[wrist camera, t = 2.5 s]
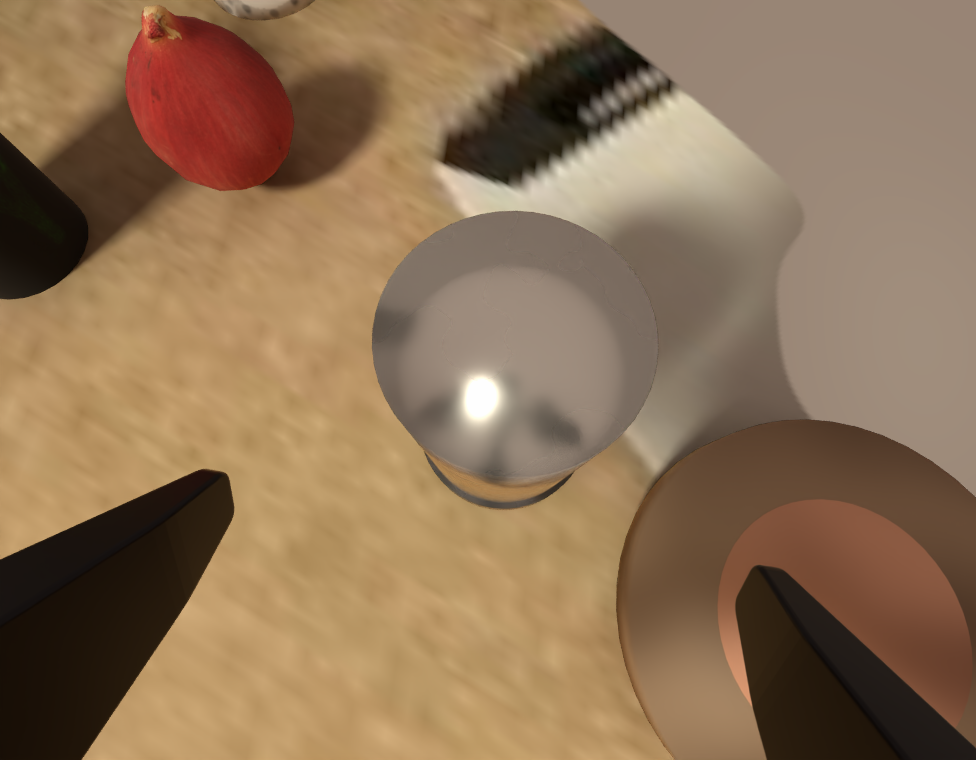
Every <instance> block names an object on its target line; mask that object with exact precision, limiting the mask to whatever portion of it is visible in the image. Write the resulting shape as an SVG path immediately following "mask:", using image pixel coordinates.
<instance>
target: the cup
mask: <svg viewBox="0 0 976 760" xmlns="http://www.w3.org/2000/svg"><path fill="white" fill-rule="evenodd" d="M87 239H88V225H87V222H86V219H85V216H84V214H83V213H82V211H81V210H80V209H79V207H78V206H77V205H76V204H75V203H74V202H73V201H72V200H71V199H70V198H69V197H68V196H66V195H65V194H64V193H63V192H62V191H61V190H60V189H59V188H58V187H57V186H56V185H55V184H54V183H53V182H52V181H51V180H50V179H49V178H48V177H46V176H45V175H44V174H43V173H42V172H41V171H40V170H39V169H38V168H37V167H36V166H35V165H34V164H33V163H32V162H31V161H30V160H29V159H27V158H26V157H25V156H24V155H23V154H22V153H21V152H20V151H19V150H18V149H17V148H16V147H15V146H14V145H13V144H12V143H11V142H10V141H9V140H7V139H6V138H5V137H4V136H3V135H2V134H1V133H0V299H18V298H25V297H28V296H31V295H35V294H38V293H41V292H42V291H44V290H46V289H48V288H50V287H52V286H54V285H55V284H56V283H58V282H59V281H60V280H62V279H63V278H64V277H65V276H67V275H68V274H69V272H70V271H71V270H72V269H73V268H74V267H75V265H76V264H77V263H78V261H79V259H80V258H81V256H82V254H83V252H84V250H85V246H86V243H87Z"/></svg>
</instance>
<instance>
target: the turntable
mask: <svg viewBox="0 0 976 760" xmlns="http://www.w3.org/2000/svg"><path fill="white" fill-rule="evenodd" d="M755 565H765V566H771V567H776V568H780V569H783V570H784V571H786V572H787V573H788V574H789V575H790V576H791V577H792V578H793V579H795V580H796V581H797V582H798V583H799V584H800V585H801V586H802V587H803V588H804V589H805V590H806V591H807V592H809V593H810V594H811V595H812V596H813V597H814V598H815V599H816V600H817V601H818V602H819V603H820V604H822V605H823V606H824V607H825V608H826V609H827V610H828V611H829V612H830V613H831V614H832V615H833V616H834V617H836V618H837V619H838V620H839V621H840V622H841V623H842V624H843V625H844V626H845V627H846V628H847V629H849V630H850V631H851V632H852V633H853V634H854V635H855V636H856V637H857V638H858V639H859V640H860V641H861V642H863V643H864V644H865V645H866V646H867V647H868V648H869V649H870V650H871V651H872V652H873V653H874V654H876V655H877V656H878V657H879V658H880V659H881V660H882V661H883V662H884V663H885V664H886V665H887V666H888V667H890V668H891V669H892V670H893V671H894V672H895V673H896V674H897V675H898V676H899V677H900V678H901V679H903V680H904V681H905V682H906V683H907V684H908V685H909V686H910V687H911V688H912V689H913V690H914V691H915V692H917V693H918V694H919V695H920V696H921V697H922V698H923V699H924V700H925V701H926V702H927V703H928V704H930V705H931V706H932V707H933V708H934V709H935V710H936V711H937V712H938V713H939V714H940V715H941V716H942V717H944V718H945V719H946V720H947V721H948V722H949V723H950V724H951V725H952V726H953V727H954V728H955V729H957V730H958V731H959V732H960V733H961V734H962V735H963V736H964V737H965V738H966V739H967V740H968V741H969V742H971V743H972V744H973V745H974V746H975V747H976V497H975V496H974V495H973V494H971V493H970V492H969V491H968V490H967V489H966V488H965V487H964V486H963V485H961V484H960V483H959V482H958V481H957V480H956V479H955V478H953V477H952V476H951V475H949V474H948V473H947V472H945V471H944V470H943V469H941V468H940V467H939V466H937V465H936V464H934V463H933V462H932V461H930V460H929V459H927V458H925V457H924V456H922V455H920V454H918V453H917V452H915V451H914V450H912V449H910V448H909V447H907V446H904V445H902V444H900V443H898V442H896V441H894V440H891V439H889V438H887V437H885V436H883V435H880V434H877V433H874V432H871V431H868V430H864V429H862V428H859V427H855V426H850V425H845V424H840V423H836V422H830V421H819V420H783V421H777V422H771V423H765V424H760V425H756V426H753V427H750V428H747V429H744V430H741V431H738V432H735V433H733V434H730V435H728V436H725V437H723V438H720V439H718V440H715V441H713V442H711V443H709V444H707V445H705V446H703V447H701V448H699V449H697V450H695V451H693V452H692V453H690V454H689V455H687V456H686V457H684V458H683V459H682V460H680V461H679V462H677V463H676V464H675V465H674V466H673V467H672V468H671V469H670V470H668V471H667V472H666V473H665V474H664V475H663V476H662V477H661V478H660V479H659V481H658V482H657V483H656V484H655V486H654V487H653V488H652V489H651V490H650V492H649V493H648V494H647V496H646V498H645V499H644V501H643V503H642V504H641V506H640V508H639V509H638V511H637V513H636V514H635V517H634V519H633V522H632V524H631V526H630V529H629V531H628V533H627V536H626V540H625V543H624V547H623V551H622V554H621V558H620V564H619V571H618V578H617V599H616V612H617V622H618V631H619V639H620V644H621V648H622V652H623V657H624V661H625V666H626V669H627V671H628V674H629V677H630V680H631V683H632V686H633V689H634V692H635V694H636V696H637V698H638V700H639V703H640V705H641V707H642V709H643V711H644V713H645V715H646V717H647V719H648V721H649V723H650V724H651V726H652V728H653V729H654V731H655V732H656V734H657V736H658V737H659V739H660V740H661V742H662V743H663V745H664V747H665V748H666V749H667V750H668V752H669V753H670V754H671V756H672V757H673V758H674V759H675V760H767V759H766V756H765V752H764V748H763V745H762V741H761V738H760V734H759V731H758V727H757V723H756V719H755V715H754V712H753V707H752V702H751V698H750V693H749V687H748V681H747V676H746V670H745V664H744V659H743V653H742V647H741V641H740V636H739V630H738V624H737V619H736V613H735V601H736V597H737V595H738V593H739V591H740V589H741V587H742V585H743V583H744V581H745V580H746V578H747V576H748V574H749V572H750V570H751V569H752V567H754V566H755Z"/></svg>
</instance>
